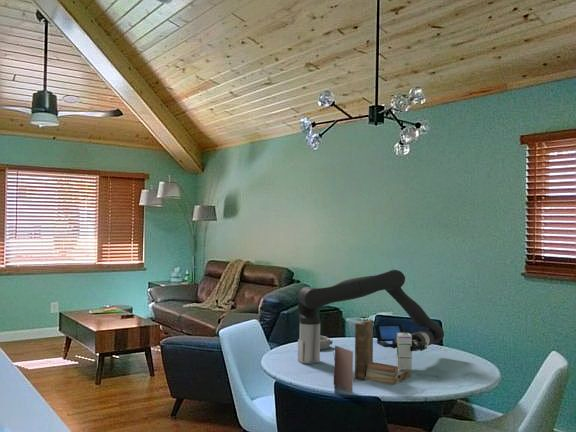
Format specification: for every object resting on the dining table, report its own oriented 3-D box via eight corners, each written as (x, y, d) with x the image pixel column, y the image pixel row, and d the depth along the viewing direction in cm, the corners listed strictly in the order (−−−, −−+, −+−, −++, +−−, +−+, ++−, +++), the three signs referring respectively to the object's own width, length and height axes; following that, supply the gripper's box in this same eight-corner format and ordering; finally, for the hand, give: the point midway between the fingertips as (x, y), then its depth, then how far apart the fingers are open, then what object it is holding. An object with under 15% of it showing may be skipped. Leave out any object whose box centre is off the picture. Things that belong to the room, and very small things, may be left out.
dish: (310, 351, 263) (310, 341, 263) (298, 345, 275) (298, 335, 275) (336, 349, 268) (336, 339, 269) (323, 343, 281) (323, 334, 281)
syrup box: (412, 370, 226) (412, 335, 226) (397, 369, 227) (398, 335, 227) (409, 366, 232) (410, 332, 232) (396, 366, 232) (396, 332, 232)
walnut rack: (391, 386, 206) (391, 328, 206) (354, 379, 216) (355, 323, 216) (410, 376, 220) (411, 322, 220) (375, 370, 230) (376, 318, 230)
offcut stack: (393, 385, 207) (393, 369, 208) (365, 379, 215) (365, 364, 215) (400, 382, 212) (400, 366, 212) (372, 376, 220) (372, 361, 220)
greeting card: (332, 384, 208) (332, 345, 208) (351, 385, 207) (352, 345, 208) (332, 393, 197) (332, 352, 197) (352, 394, 196) (353, 352, 196)
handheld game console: (384, 347, 274) (384, 329, 274) (373, 342, 287) (373, 324, 287) (412, 346, 278) (412, 328, 278) (400, 341, 291) (401, 323, 291)
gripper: (403, 330, 245) (386, 336, 232) (433, 334, 237) (418, 340, 224) (403, 347, 245) (386, 353, 232) (433, 351, 236) (418, 359, 223)
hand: (402, 347), depth 228 cm, fingers open, 7 cm apart
